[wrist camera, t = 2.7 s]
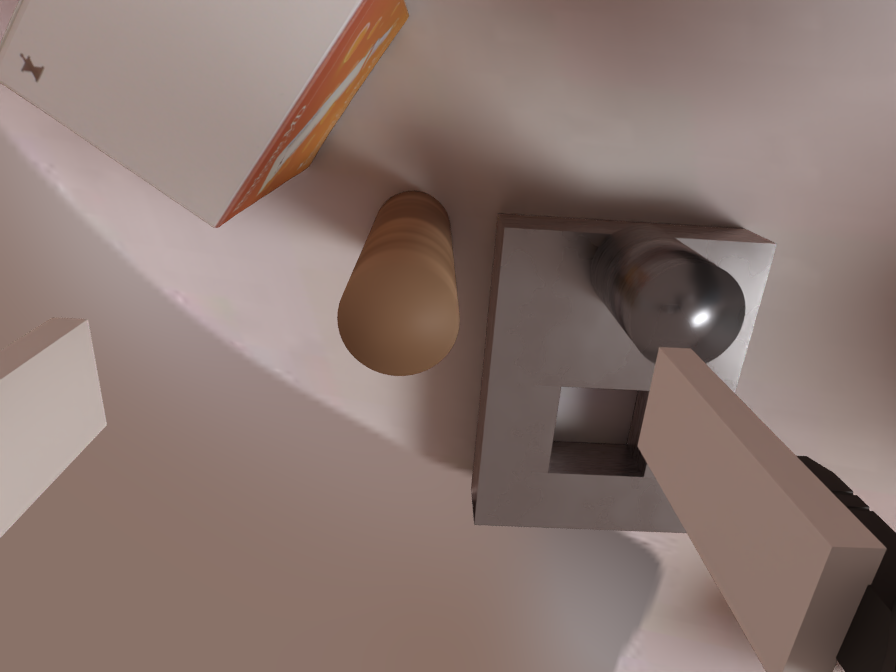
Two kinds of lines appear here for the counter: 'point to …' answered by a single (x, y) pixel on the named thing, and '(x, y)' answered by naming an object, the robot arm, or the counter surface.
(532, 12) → the counter surface
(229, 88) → the small box
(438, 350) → the wooden cylinder
